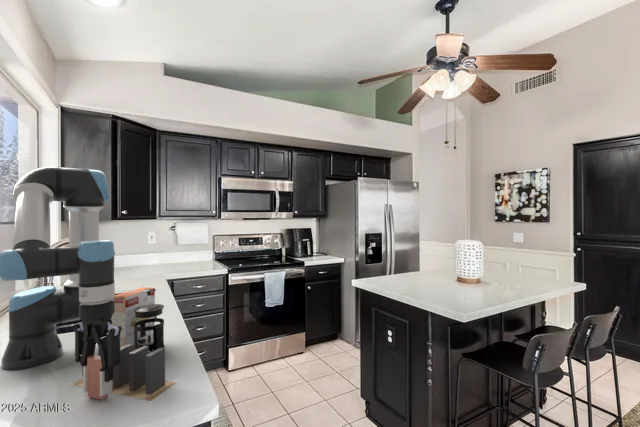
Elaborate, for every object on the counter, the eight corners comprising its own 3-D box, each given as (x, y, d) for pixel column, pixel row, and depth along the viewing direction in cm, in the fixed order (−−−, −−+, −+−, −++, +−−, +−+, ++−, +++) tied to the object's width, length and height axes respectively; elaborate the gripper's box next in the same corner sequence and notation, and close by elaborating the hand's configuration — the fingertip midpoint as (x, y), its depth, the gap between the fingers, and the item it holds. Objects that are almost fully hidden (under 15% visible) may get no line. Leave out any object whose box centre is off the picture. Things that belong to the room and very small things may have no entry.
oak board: (70, 387, 88) (70, 384, 88) (101, 372, 96) (101, 369, 96) (151, 404, 79) (151, 400, 79) (177, 385, 88) (177, 382, 88)
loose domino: (102, 399, 79) (101, 360, 79) (87, 396, 81) (87, 357, 81) (108, 396, 81) (107, 357, 81) (93, 393, 82) (93, 354, 82)
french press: (126, 359, 105) (126, 290, 105) (155, 349, 112) (154, 284, 112) (144, 369, 98) (144, 295, 98) (173, 357, 106) (172, 289, 106)
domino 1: (113, 387, 86) (113, 350, 86) (129, 378, 90) (129, 343, 90) (118, 388, 85) (117, 351, 85) (133, 379, 90) (133, 344, 90)
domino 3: (145, 393, 82) (145, 355, 82) (160, 384, 87) (160, 347, 87) (150, 394, 82) (150, 356, 82) (165, 384, 87) (164, 348, 87)
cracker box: (126, 359, 105) (125, 296, 105) (110, 358, 106) (110, 295, 106) (156, 342, 118) (155, 287, 119) (142, 341, 120) (141, 286, 120)
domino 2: (129, 390, 84) (128, 353, 84) (144, 381, 89) (144, 345, 89) (133, 391, 84) (133, 353, 84) (149, 382, 88) (148, 346, 88)
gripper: (56, 302, 80) (56, 393, 80) (110, 308, 75) (110, 406, 75) (85, 294, 87) (86, 378, 87) (137, 299, 82) (137, 389, 82)
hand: (97, 391), depth 81 cm, fingers closed on loose domino, 5 cm apart
